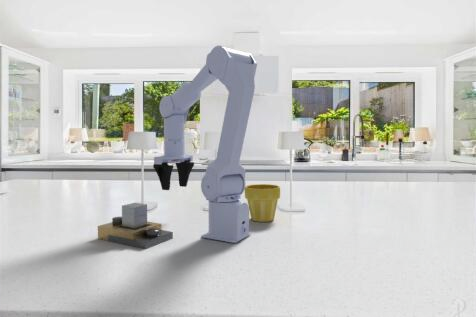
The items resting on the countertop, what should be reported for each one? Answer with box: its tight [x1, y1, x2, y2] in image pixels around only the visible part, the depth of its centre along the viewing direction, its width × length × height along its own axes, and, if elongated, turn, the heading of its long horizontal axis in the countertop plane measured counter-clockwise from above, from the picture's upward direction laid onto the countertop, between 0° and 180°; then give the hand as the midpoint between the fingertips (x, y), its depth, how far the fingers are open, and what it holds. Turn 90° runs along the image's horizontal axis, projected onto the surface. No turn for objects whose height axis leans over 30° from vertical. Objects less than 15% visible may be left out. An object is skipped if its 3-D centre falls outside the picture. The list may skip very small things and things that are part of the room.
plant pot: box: [244, 183, 281, 223], centre depth 99 cm, size 10×10×10 cm
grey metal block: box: [121, 202, 148, 230], centre depth 80 cm, size 4×4×8 cm
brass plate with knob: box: [97, 216, 174, 250], centre depth 80 cm, size 15×9×4 cm, turn 61°
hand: (174, 188), depth 96 cm, fingers open, 7 cm apart
